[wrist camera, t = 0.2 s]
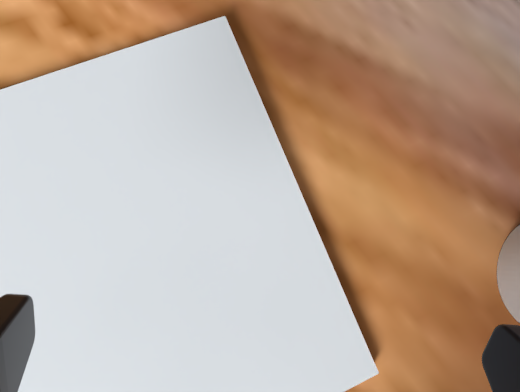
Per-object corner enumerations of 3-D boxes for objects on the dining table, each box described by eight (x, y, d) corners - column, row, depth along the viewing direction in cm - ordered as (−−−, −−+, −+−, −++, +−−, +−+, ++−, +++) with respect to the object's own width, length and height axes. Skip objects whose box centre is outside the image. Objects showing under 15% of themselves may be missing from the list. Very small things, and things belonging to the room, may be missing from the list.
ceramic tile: (370, 368, 24) (379, 373, 23) (71, 524, 21) (66, 537, 20) (223, 24, 25) (225, 15, 24) (-85, 127, 22) (-98, 121, 21)
